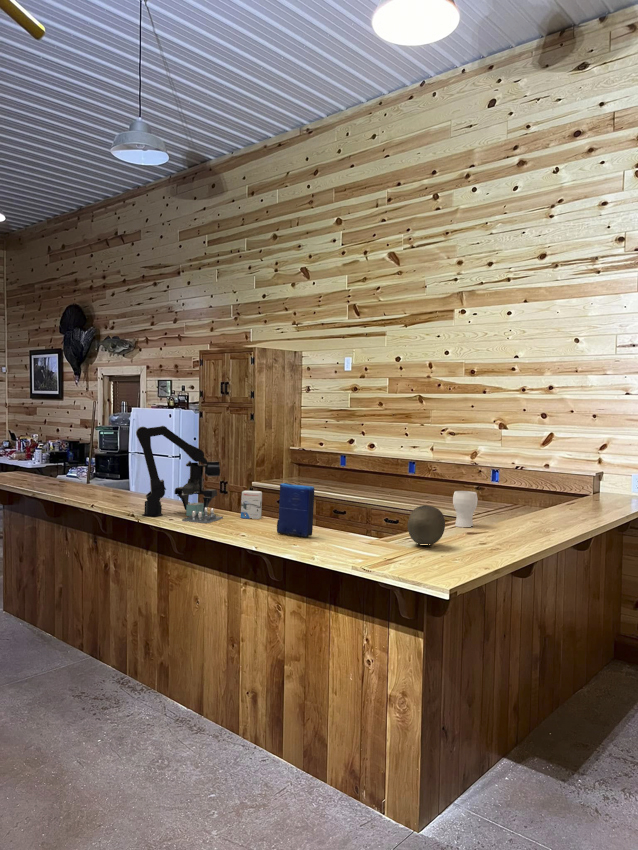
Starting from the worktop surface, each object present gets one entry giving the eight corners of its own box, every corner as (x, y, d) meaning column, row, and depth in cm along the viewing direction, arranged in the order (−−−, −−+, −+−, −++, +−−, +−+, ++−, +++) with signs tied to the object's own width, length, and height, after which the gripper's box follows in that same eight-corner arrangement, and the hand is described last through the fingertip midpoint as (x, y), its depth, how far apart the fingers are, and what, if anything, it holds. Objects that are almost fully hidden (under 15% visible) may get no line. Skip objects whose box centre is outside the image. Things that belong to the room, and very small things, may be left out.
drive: (186, 516, 284) (186, 504, 284) (195, 513, 292) (195, 502, 292) (195, 516, 283) (195, 505, 283) (204, 514, 291) (204, 502, 291)
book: (274, 534, 249) (276, 483, 249) (282, 532, 254) (283, 481, 253) (307, 539, 242) (309, 486, 242) (313, 536, 247) (315, 485, 247)
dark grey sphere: (399, 543, 240) (400, 503, 240) (432, 541, 245) (433, 502, 245) (418, 551, 227) (419, 509, 227) (452, 549, 232) (454, 508, 232)
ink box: (240, 518, 282) (241, 491, 282) (242, 516, 287) (243, 490, 287) (259, 519, 282) (260, 492, 281) (261, 517, 287) (262, 491, 286)
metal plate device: (182, 520, 271) (182, 510, 271) (198, 516, 284) (198, 506, 284) (207, 523, 267) (207, 513, 267) (222, 518, 280) (223, 508, 280)
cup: (446, 525, 282) (448, 491, 282) (461, 523, 289) (462, 490, 289) (467, 529, 274) (468, 494, 274) (481, 527, 281) (482, 492, 281)
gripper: (168, 476, 282) (167, 512, 283) (206, 479, 277) (205, 515, 277) (181, 474, 293) (180, 508, 293) (218, 477, 287) (217, 511, 288)
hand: (195, 511), depth 287 cm, fingers open, 9 cm apart
